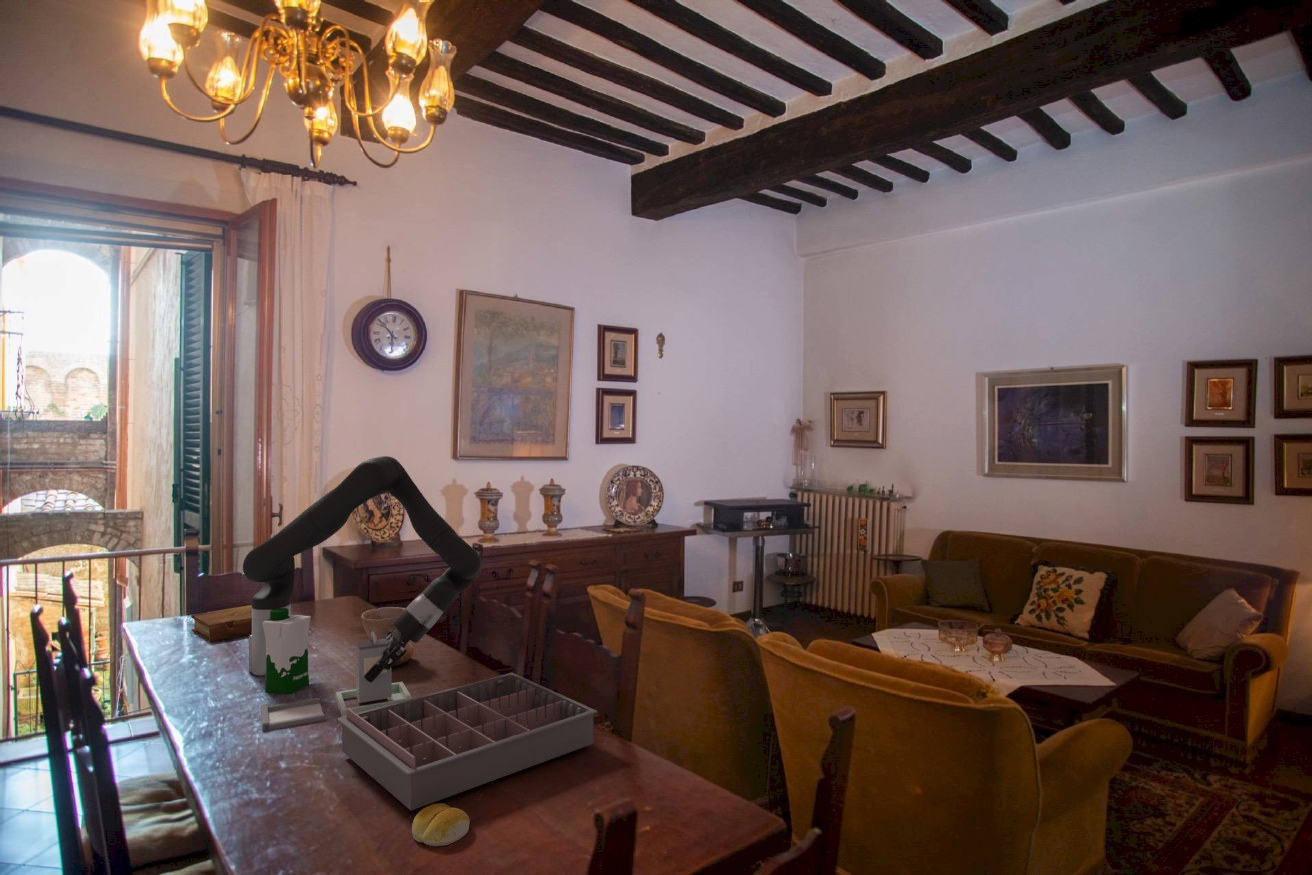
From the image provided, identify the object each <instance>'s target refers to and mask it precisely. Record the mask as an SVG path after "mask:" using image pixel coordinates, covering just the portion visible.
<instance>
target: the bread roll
mask: <svg viewBox="0 0 1312 875" xmlns="http://www.w3.org/2000/svg"><path fill="white" fill-rule="evenodd" d="M470 823H471V822H470V816H469V815H468V814H467V813H466V811H464V810H463V809H460V808H458V807H451V806H450V805H448V804H446V803H444V802H443V803H442V802H440V803H432V804H429V805H428V806H427V805H426V807H423V808H422V809H421V810H420V811H418V813H416V815H415V817H414V819H413V821H412V824H411V835H412V837H413V839H414V840H415V841H416V842H418V843H424V844H425V845H427V846H428V845H429V846H430V847H443V846H447V845H448V846H449V845H450V844H453V843H454V842H457V841H460V839H462V838H463V837H464V836H466V835H467V833H468V832H469V828H470Z"/></svg>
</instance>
